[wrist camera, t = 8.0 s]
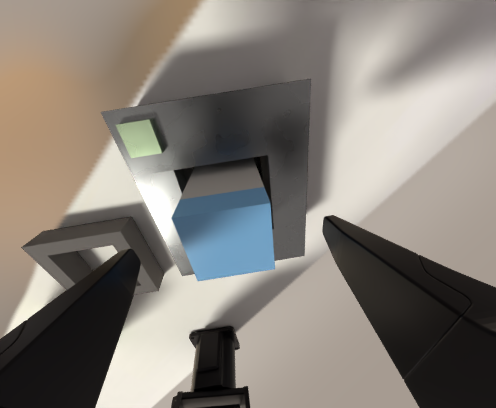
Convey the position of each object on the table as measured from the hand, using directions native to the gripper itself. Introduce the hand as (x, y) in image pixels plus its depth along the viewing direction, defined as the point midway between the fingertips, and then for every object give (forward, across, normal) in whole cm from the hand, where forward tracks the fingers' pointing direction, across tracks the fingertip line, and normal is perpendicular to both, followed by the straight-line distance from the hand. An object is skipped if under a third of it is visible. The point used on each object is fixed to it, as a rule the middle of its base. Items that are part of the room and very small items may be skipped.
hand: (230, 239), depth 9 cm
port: (+8, 0, 0) cm, 8 cm away
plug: (+8, 0, 0) cm, 8 cm away
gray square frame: (+8, +13, +6) cm, 16 cm away
